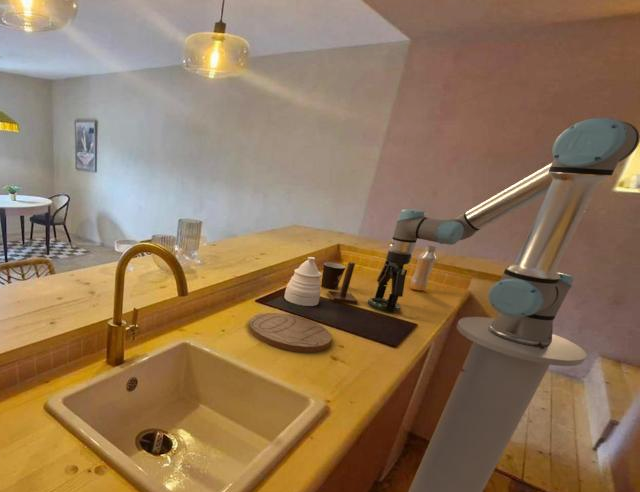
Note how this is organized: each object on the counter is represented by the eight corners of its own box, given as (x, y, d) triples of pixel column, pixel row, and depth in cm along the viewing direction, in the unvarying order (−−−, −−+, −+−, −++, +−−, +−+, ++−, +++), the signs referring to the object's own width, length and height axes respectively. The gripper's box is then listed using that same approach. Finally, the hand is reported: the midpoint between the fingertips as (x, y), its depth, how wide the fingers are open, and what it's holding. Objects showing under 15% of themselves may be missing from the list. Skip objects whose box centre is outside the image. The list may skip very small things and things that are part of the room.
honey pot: (319, 308, 149) (331, 263, 142) (284, 302, 153) (293, 258, 146) (317, 297, 160) (327, 254, 154) (284, 292, 164) (293, 250, 158)
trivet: (341, 336, 127) (343, 330, 126) (310, 361, 111) (312, 355, 110) (270, 311, 143) (271, 307, 143) (234, 330, 127) (234, 325, 126)
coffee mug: (327, 290, 169) (332, 268, 166) (314, 283, 177) (319, 262, 173) (350, 289, 172) (356, 268, 168) (336, 283, 179) (342, 262, 176)
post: (357, 304, 155) (367, 267, 149) (332, 301, 157) (342, 264, 151) (350, 296, 163) (360, 261, 157) (327, 294, 165) (336, 258, 159)
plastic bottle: (426, 290, 177) (441, 246, 169) (423, 293, 172) (439, 249, 164) (409, 286, 181) (423, 244, 173) (406, 289, 176) (421, 246, 168)
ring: (404, 313, 147) (406, 308, 147) (373, 310, 149) (374, 305, 149) (393, 303, 157) (394, 298, 157) (363, 300, 159) (364, 295, 159)
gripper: (378, 244, 157) (363, 295, 165) (402, 258, 135) (383, 316, 143) (398, 245, 155) (382, 297, 163) (426, 260, 134) (406, 318, 142)
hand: (383, 306), depth 153 cm, fingers closed on ring, 11 cm apart
